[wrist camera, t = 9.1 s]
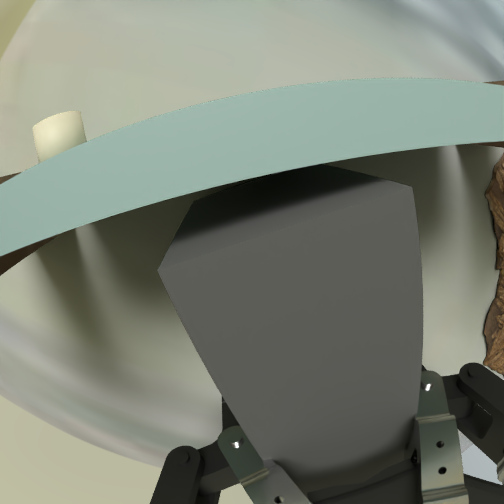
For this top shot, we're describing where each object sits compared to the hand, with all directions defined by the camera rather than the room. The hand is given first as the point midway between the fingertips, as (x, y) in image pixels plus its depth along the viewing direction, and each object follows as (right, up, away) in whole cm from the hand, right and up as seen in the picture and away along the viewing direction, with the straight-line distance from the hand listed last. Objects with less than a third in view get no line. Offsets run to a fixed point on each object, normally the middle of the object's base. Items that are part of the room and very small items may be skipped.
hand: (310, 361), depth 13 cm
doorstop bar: (0, +1, +1) cm, 2 cm away
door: (-2, +10, -2) cm, 11 cm away
